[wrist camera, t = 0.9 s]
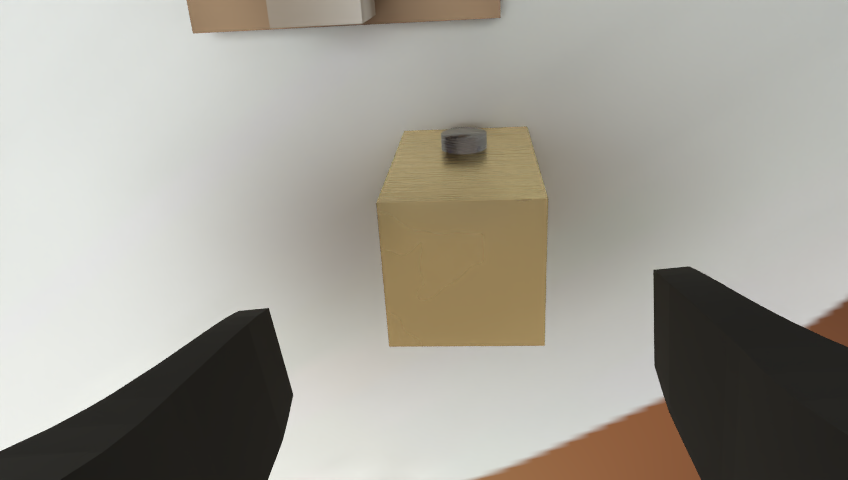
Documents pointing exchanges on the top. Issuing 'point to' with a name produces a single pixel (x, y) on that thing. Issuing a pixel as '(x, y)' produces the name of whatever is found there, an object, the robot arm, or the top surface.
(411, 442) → the top surface
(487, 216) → the wooden block with knob
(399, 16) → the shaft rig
